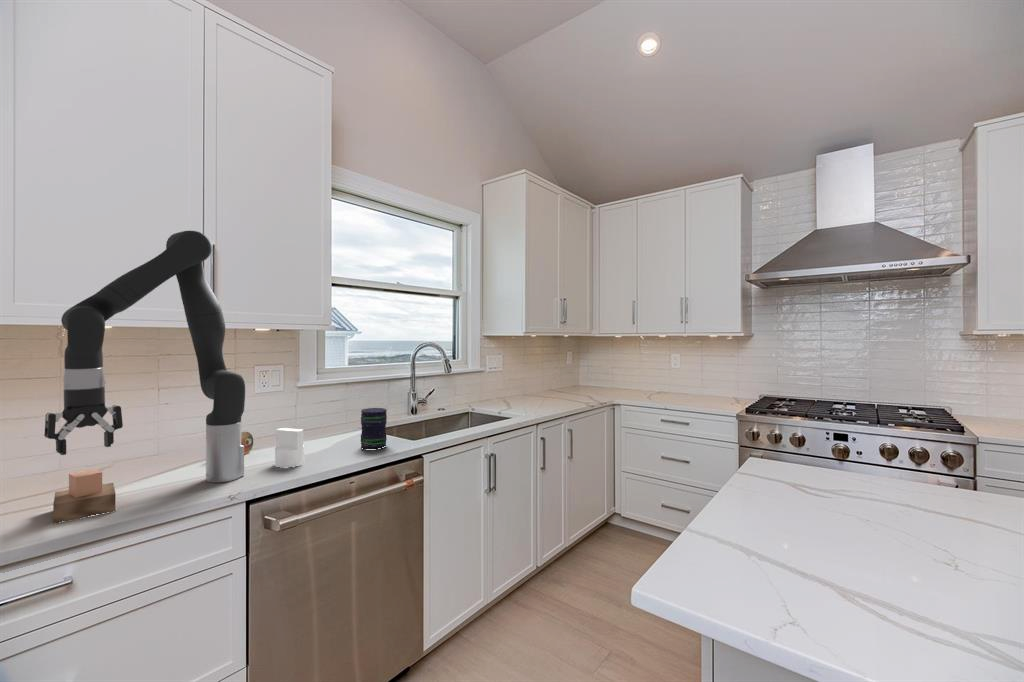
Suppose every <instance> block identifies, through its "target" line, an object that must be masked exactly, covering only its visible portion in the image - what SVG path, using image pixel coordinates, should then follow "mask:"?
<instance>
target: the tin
mask: <svg viewBox="0 0 1024 682" xmlns="http://www.w3.org/2000/svg"><path fill="white" fill-rule="evenodd" d="M241 445H243V446H244V454H245V455H247V454H249V453H250V452H251V450H252V449H253V446H254V438H253V435H252V434H251V433H250V432H249V431H241Z"/></svg>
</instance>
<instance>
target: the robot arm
mask: <svg viewBox="0 0 1024 682" xmlns="http://www.w3.org/2000/svg"><path fill="white" fill-rule="evenodd" d="M212 251H213V245H212V241H211V239H210V238H208V237H207V236H206V235H205V233H202V232H200V231H197V230H184V231H183V230H182V231H179V232H176V233H173V234H171V235H170V236H169V237H168V239H167V240H166V244H165V250H164V251H162V252H161V253H159V254H158V255H157V256H155V257H154V258H152V259H150V260H148V261H146V262H145V263H143V264H141V265H139V266H137V267H134V268H133V269H131V270H130V271H127V272H125V273H124V274H122V275H120V276H119V277H117V278H115V279H114V280H113V281H111V282H110V283H108V284H106V285H105V286H104V287H102V288H101V289H100V290H98V291H97V292H96V293H95V294H94V293H93V295H91V296H89V297H86V298H85V299H82V300H81V301H79V302H78V303H76V304H74V305H73V306H71V307H69V309H67V310H66V311H65V312H64V313H63V314H62V316H61V319H60V320H61V325H62V327H63V328H64V329H65V330H66V331H67V336H66V337H67V338H66V339H67V346H66V348H65V349H64V353H63V354H64V359H63V360H64V371H63V377H62V378H63V379H62V381H63V384H62V385H63V410H62V412H56V413H55V412H53V413H52V412H47V413H45V419H44V421H45V423H44V435H43V436H44V438H47V439H49V440H51V439H52V440H55V451H56V453H58V454H59V455H61V456H65V455H67V439H66V438H67V436H68V435H69V434H70V433H71V432H72V431H73V430H74V429H75V428H79V429H81V428H84V427H94V426H96V425H98V427H100V428H102V429H103V430H104V431H103V443H104V444H103V446H104V447H106V448H111V447H112V445H113V444H114V442H115V440H114V439H115V438H114V432H115V431H116V430H118V429H122V428H123V427H124V423H123V414H122V407H121V406H120V405H115V404H114V405H112V406H108V407H107V406H106V393H105V391H106V389H105V388H106V386H105V385H106V380H105V379H106V378H105V373H104V372H105V371H104V358H103V357H104V356H103V355H104V354H103V346H104V345H103V343H104V338H105V334H106V333H105V332H106V322H107V321H108V320H109V319H110V318H113V317H114V316H115V315H116V314H119V313H122V312H124V311H126V310H128V309H129V308H130V307H132V306H133V305H135V304H136V303H137V302H139V301H141V299H143V298H144V297H146V296H147V295H149V294H150V293H152V292H153V291H154V290H156V288H158V287H160V286H161V285H162V284H164V283H165V282H166V281H169V279H171V278H172V277H174V276H175V277H176V280H177V283H178V287H179V293H180V298H181V301H182V305H183V309H184V310H183V311H184V315H185V319H186V323H187V327H188V330H189V333H190V337H191V341H192V345H193V349H194V353H195V356H196V359H197V360H196V361H197V362H196V363H197V369H198V376H199V383H200V388H201V391H202V393H203V394H204V396H205V397H206V398H208V399H210V400H213V404H212V405H213V406H212V410H211V412H209V413H208V414H207V415H206V417H205V481H206V482H208V483H226V482H231V481H234V480H237V479H239V478H240V477H243V476H245V455H244V446H243V445H241V432H242V416H243V415H244V412H245V405H246V404H245V402H246V382H245V380H244V378H243V376H242V374H239V373H238V372H235V371H231V370H227V367H226V364H225V359H224V355H223V346H224V341H225V335H226V321H225V318H224V313H223V309H222V306H221V303H220V302H219V300H218V298H217V297H216V294H215V293H214V291H213V290H212V288H211V286H210V285H209V282H208V280H207V278H206V273H205V269H204V265H203V264H204V263H203V262H204V261H206V260H207V259H209V257H210V256H211V254H212ZM107 413H108V414H109V415H111V417H112V424H110V423H109V422H108V421H106V420H105V419H104V417H105V416H106V415H107ZM61 418H63V420H65V423H64V424H63V425H62V426H61V427H60V429H59V430H58V431H57V432H56V423H58V422H59V421H60V419H61Z"/></svg>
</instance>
